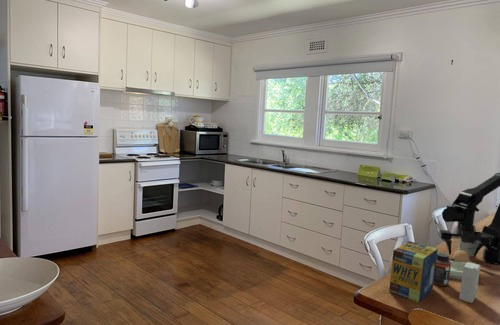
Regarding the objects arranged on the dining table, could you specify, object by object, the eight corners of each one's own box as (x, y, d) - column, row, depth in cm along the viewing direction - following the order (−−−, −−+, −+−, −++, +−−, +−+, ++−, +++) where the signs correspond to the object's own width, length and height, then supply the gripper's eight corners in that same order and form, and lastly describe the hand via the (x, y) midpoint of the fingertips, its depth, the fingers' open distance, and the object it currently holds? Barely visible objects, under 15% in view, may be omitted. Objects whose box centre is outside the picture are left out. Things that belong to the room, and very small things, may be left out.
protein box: (388, 292, 134) (392, 249, 132) (404, 279, 146) (409, 240, 144) (418, 303, 127) (423, 258, 125) (433, 288, 139) (438, 248, 137)
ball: (466, 262, 166) (467, 249, 165) (470, 267, 160) (471, 254, 160) (451, 260, 168) (452, 247, 167) (454, 265, 162) (456, 252, 161)
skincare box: (462, 293, 136) (466, 261, 134) (476, 297, 133) (481, 264, 132) (458, 299, 131) (462, 265, 130) (473, 304, 128) (477, 269, 127)
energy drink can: (469, 258, 171) (473, 226, 169) (455, 254, 175) (459, 223, 174) (474, 256, 175) (478, 224, 173) (460, 252, 179) (464, 221, 178)
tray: (469, 270, 158) (470, 263, 157) (478, 282, 146) (479, 274, 146) (438, 265, 161) (438, 259, 161) (444, 277, 149) (445, 269, 149)
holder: (470, 261, 168) (470, 260, 167) (476, 270, 158) (477, 268, 158) (445, 258, 170) (445, 257, 170) (450, 266, 161) (450, 265, 161)
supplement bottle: (450, 287, 140) (454, 258, 139) (433, 285, 141) (436, 256, 140) (445, 281, 146) (449, 252, 144) (429, 279, 147) (432, 250, 146)
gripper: (446, 223, 156) (441, 259, 158) (497, 229, 151) (492, 266, 154) (440, 216, 167) (436, 250, 169) (488, 221, 162) (483, 256, 164)
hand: (461, 256), depth 164 cm, fingers open, 9 cm apart
